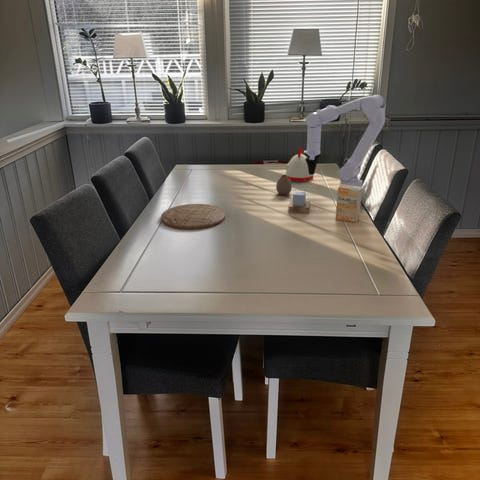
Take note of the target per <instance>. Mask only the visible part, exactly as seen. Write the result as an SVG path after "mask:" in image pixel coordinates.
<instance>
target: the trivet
mask: <svg viewBox="0 0 480 480" xmlns="http://www.w3.org/2000/svg"><path fill="white" fill-rule="evenodd" d="M160 216H161V217H160V221H161V223H162V225H164V226H165V227H167V228H169V229H170V228H171V229H174V230H181V231H198V230H203V229H208V228H213V227H215V226H218V225H219V224H222V223H223V222H224V221H225V219H226V212H225V210H224V209H223V208H222V207H219V206H217V205H213V204H207V203H186V204H182V205H181V204H180V205H177V206H176V205H175V206H173V207H170V208H168V209H166V210H165V211H163V212H162V213H161V215H160Z"/></svg>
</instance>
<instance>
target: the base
mask: <svg viewBox="0 0 480 480" xmlns="http://www.w3.org/2000/svg"><path fill="white" fill-rule="evenodd" d="M310 208H311V201H310V200H305V204H304V206H296V205H293V199H291V200H290V201H289V205H288V209H287V210H288V212H287V213H291V214H292V213H293V214H305V215H306V214H307V215H308V214H309V212H310Z"/></svg>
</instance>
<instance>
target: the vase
mask: <svg viewBox="0 0 480 480" xmlns="http://www.w3.org/2000/svg"><path fill="white" fill-rule="evenodd" d="M291 181H292V180H289V178H288V177H287V175H286V174H281V175H280V177H279V179H278V180H277V181H276V184H275V185H276V187H275V188H276V192H277V194H278V195H280V196H289V194H290V193H291V192H292V189H293V185H292V182H291Z"/></svg>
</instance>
